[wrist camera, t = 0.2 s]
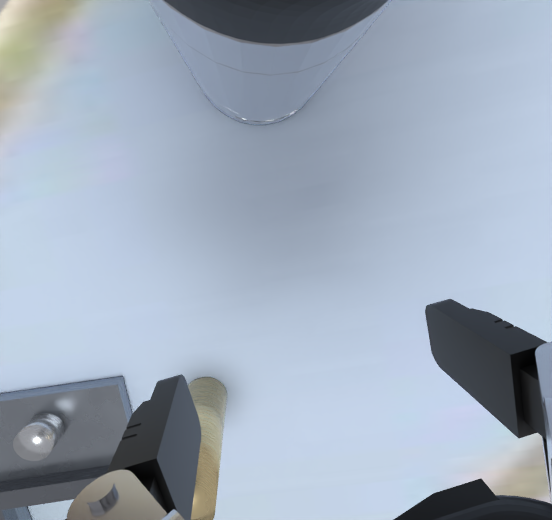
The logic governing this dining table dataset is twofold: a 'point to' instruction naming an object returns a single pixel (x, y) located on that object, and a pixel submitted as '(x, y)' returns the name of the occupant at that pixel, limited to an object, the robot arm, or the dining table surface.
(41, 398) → the chain end lower
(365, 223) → the dining table surface
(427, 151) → the dining table surface
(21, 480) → the chain end upper
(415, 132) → the dining table surface
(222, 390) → the pin
